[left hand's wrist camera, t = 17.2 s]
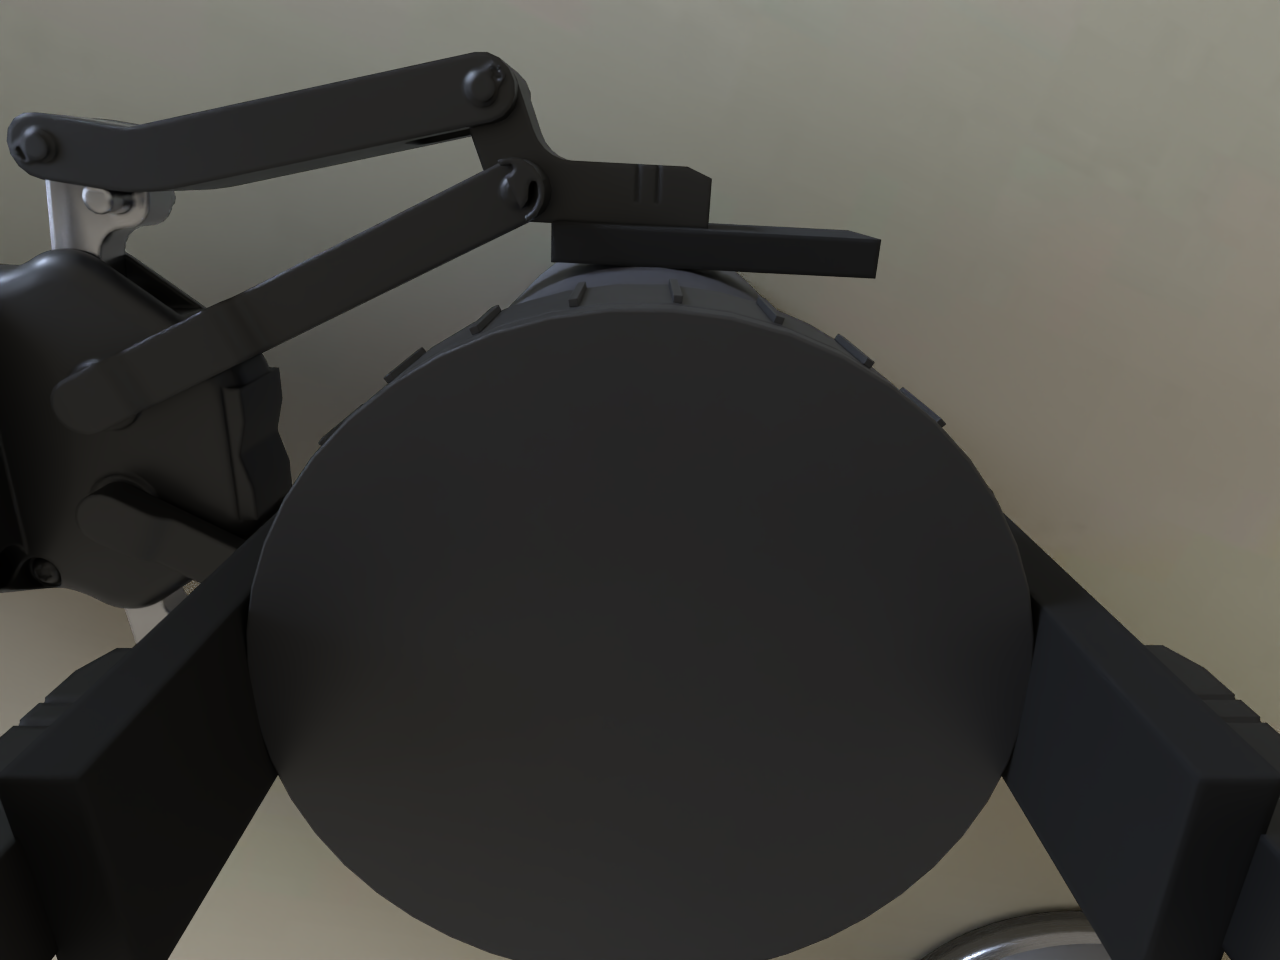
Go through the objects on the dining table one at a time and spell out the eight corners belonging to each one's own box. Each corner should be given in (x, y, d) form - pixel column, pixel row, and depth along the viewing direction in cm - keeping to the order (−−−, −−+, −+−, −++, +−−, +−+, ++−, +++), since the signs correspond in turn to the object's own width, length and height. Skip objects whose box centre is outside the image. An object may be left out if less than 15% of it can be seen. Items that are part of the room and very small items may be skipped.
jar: (550, 555, 27) (454, 969, 13) (447, 291, 24) (175, 461, 10) (816, 480, 26) (1021, 838, 12) (745, 195, 23) (909, 230, 9)
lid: (898, 165, 10) (960, 164, 8) (1025, 784, 13) (1091, 889, 11) (177, 414, 11) (78, 465, 9) (464, 927, 15) (436, 1044, 13)
